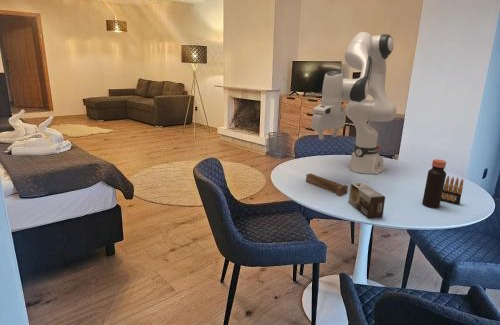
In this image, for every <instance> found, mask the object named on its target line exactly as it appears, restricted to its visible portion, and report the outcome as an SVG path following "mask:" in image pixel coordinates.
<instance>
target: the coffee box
mask: <svg viewBox="0 0 500 325" xmlns="http://www.w3.org/2000/svg"><path fill="white" fill-rule="evenodd" d="M349 187H350V188H349V193H348V194H349V197H348V203H349V204H350V205H352V207H353V208H355V209H356V210H358V211H359V212H360V213H361V214H363V215H364V216H365V217H366V218H367V219H378V218H380V219H381V218H383V215H384V210H385V209H384V208H385V201H386V196H384V195H383V194H382V193H380V192H378V191H377V190H376V189H374V188H372V187H371V186H370V185H368V184H366V183H365V182H362V181H361V182H351V183H350V186H349Z"/></svg>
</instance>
